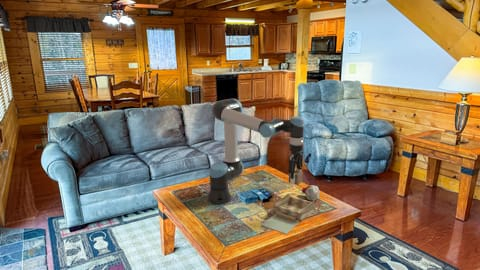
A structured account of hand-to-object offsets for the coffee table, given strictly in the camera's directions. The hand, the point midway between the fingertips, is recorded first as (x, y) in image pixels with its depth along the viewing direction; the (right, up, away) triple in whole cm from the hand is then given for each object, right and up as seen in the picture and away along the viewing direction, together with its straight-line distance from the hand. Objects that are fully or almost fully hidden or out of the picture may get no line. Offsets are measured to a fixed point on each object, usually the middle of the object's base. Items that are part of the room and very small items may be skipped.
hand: (295, 181), depth 191 cm
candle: (+14, -14, +23) cm, 31 cm away
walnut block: (0, 0, 0) cm, 0 cm away
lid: (-10, -23, -8) cm, 26 cm away
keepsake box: (0, -19, +5) cm, 19 cm away
